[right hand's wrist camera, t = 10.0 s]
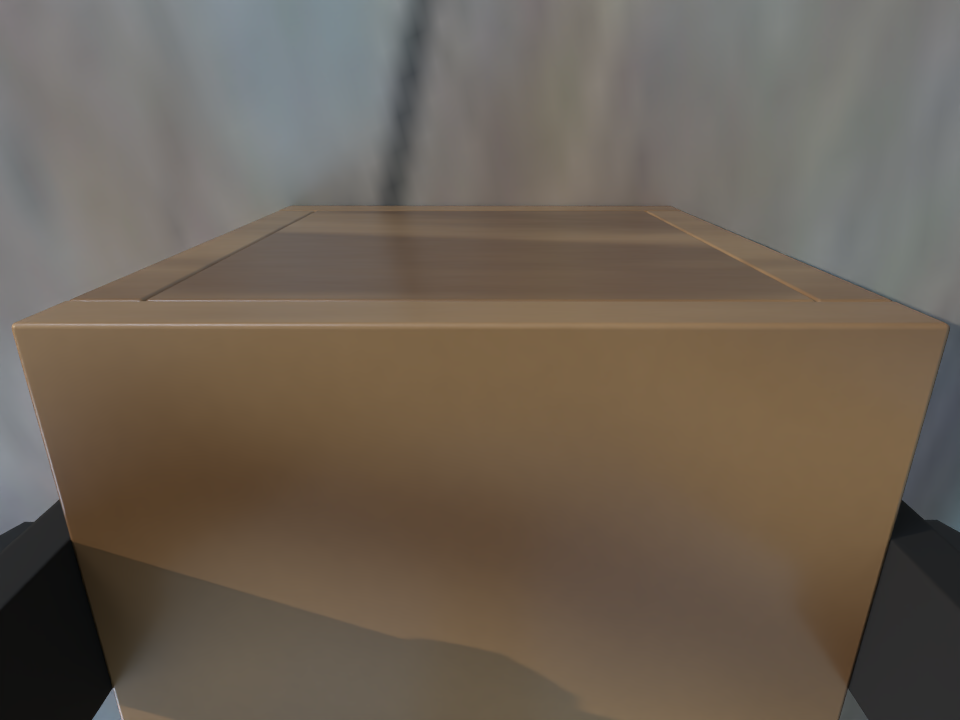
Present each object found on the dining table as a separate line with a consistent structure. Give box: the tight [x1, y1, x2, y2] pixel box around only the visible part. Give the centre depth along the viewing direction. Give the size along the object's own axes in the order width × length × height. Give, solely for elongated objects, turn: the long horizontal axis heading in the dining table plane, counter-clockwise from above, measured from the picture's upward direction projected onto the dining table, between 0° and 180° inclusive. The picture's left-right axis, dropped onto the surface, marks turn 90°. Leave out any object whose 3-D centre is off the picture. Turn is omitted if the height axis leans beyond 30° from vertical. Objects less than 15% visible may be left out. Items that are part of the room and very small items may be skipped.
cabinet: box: [12, 206, 950, 720], centre depth 16 cm, size 21×11×11 cm, turn 0°
